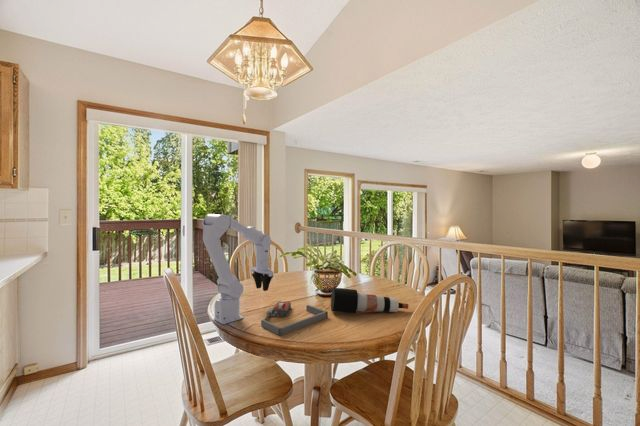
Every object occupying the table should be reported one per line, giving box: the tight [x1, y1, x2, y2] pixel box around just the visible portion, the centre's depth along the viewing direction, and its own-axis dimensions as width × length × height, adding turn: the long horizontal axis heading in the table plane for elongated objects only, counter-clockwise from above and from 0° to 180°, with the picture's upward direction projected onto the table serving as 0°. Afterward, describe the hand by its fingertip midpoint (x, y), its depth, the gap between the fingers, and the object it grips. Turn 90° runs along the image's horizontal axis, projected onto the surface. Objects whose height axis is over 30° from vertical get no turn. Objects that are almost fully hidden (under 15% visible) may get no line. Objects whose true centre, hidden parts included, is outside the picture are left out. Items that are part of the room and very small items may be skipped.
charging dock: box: [260, 304, 328, 337], centre depth 120 cm, size 25×12×2 cm, turn 136°
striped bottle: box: [330, 287, 410, 314], centre depth 131 cm, size 10×34×10 cm, turn 94°
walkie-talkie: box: [264, 300, 292, 321], centre depth 128 cm, size 9×4×20 cm
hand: (262, 289), depth 136 cm, fingers open, 5 cm apart
